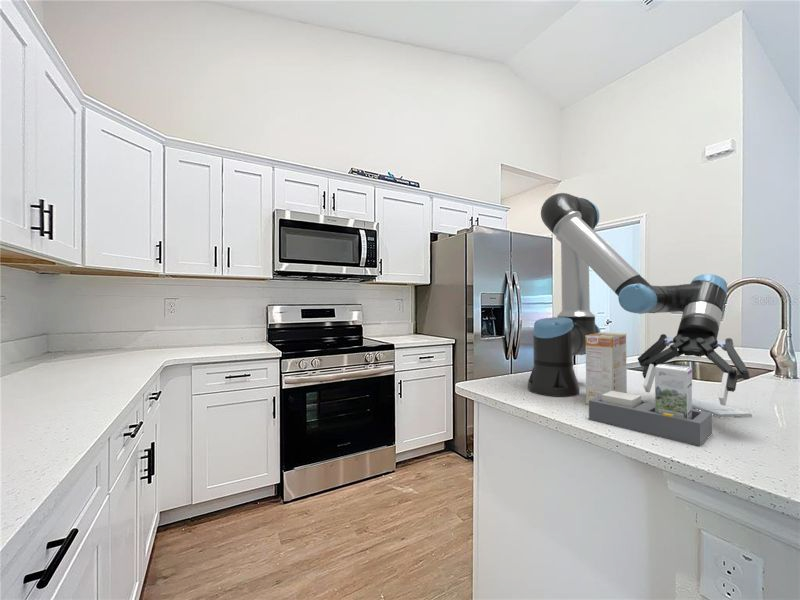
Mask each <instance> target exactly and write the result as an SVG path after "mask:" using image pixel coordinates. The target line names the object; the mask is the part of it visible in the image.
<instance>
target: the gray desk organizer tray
mask: <svg viewBox="0 0 800 600" xmlns="http://www.w3.org/2000/svg"><path fill="white" fill-rule="evenodd" d="M588 420H592V421H596V422H599V423H604V424H608V425H612V426H615V427H619V428H623V429H629V430H631V429H632V431H636V432H639V433H640V432H641V433H644V432H645V434H648V433H649V435H652V436H657V437H660V438H666V439H670V440H673V441H677V442H681V443H685V444H689V443H690V444H689V445H693V444H694V445H693V446H697V447H701V446H702V445H703V444H704V443H705V442H706V441H707V440H708V439H709V438H710V437H711V436H712V435H713V415H712V413H709V412H704V411H699V410H696V409H693V408H692V420H691V419H686V418H681V417H676V416H674V414H669V413H663V414H661V413H656V412H655V401H654V402H653V401H650V400H649V401H648V400H642V395H641V394H640V395H639V394H633V393H628V392H627V393H622V392H617V391H610V392H608V393H605V394H602V396H599V397H597V398H594V399H592V400H589V405H588ZM711 434H712V435H711ZM710 435H711V436H710ZM709 436H710V437H709ZM708 437H709V438H708Z"/></svg>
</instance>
